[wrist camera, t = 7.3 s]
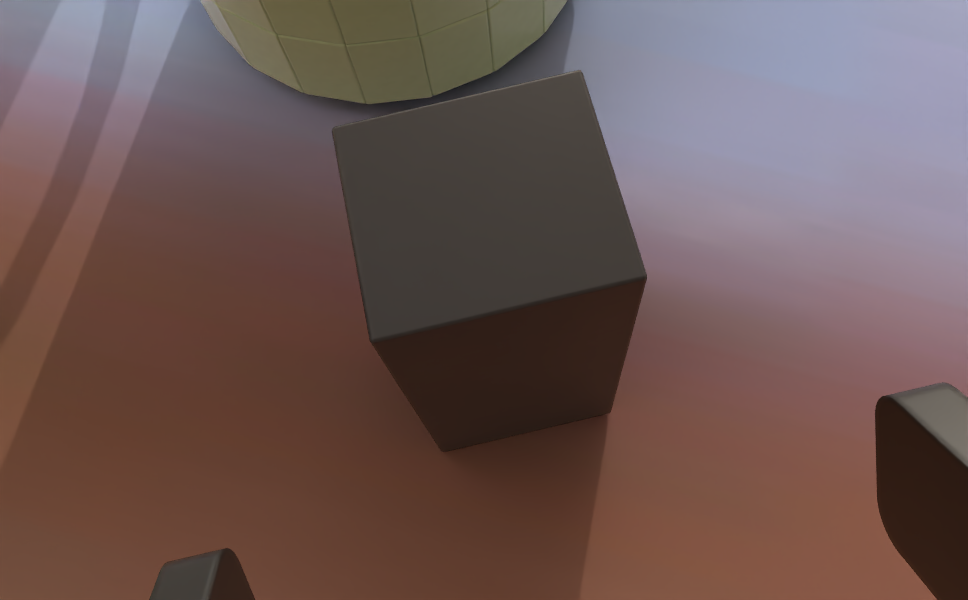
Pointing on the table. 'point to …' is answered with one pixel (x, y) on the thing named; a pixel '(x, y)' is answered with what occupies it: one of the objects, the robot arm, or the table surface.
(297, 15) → the bowl
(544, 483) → the table surface
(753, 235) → the table surface
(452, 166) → the dark rectangular block
